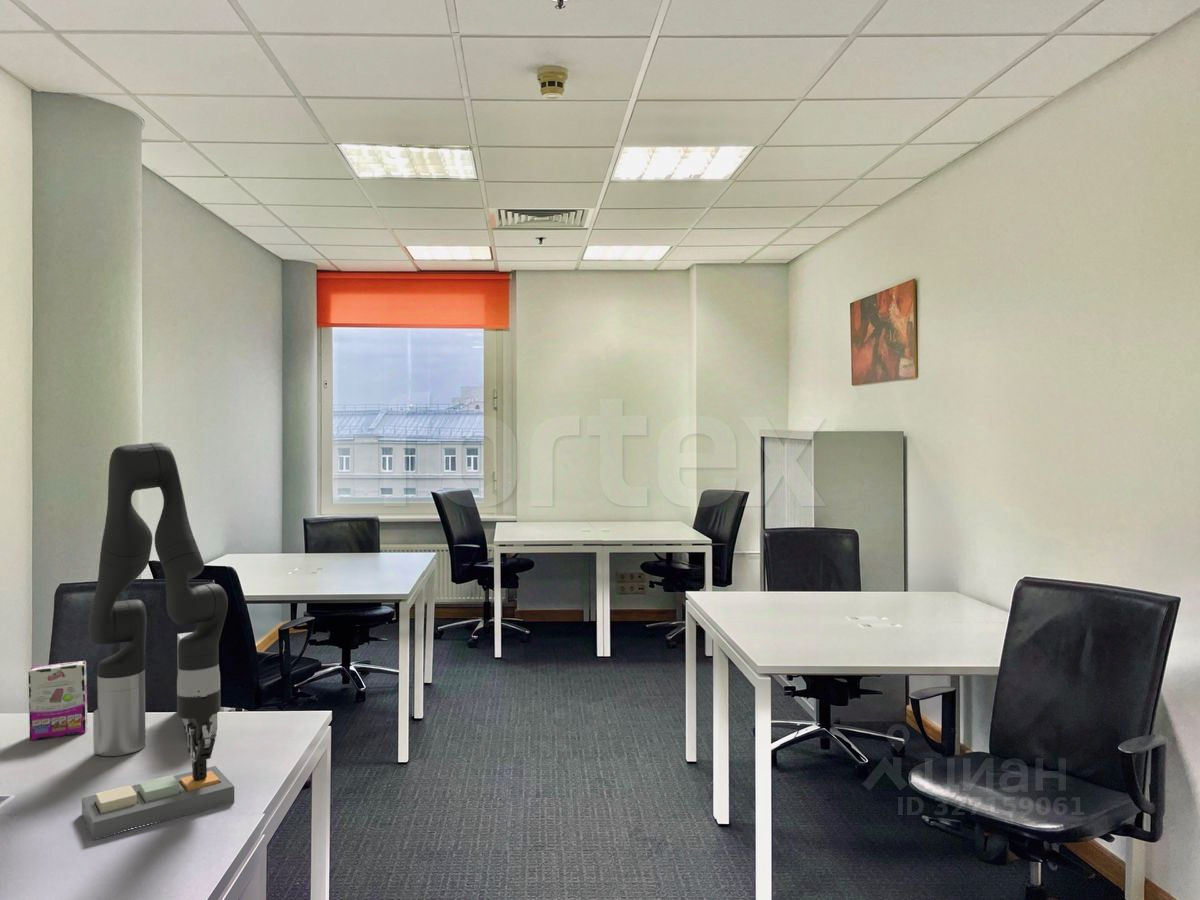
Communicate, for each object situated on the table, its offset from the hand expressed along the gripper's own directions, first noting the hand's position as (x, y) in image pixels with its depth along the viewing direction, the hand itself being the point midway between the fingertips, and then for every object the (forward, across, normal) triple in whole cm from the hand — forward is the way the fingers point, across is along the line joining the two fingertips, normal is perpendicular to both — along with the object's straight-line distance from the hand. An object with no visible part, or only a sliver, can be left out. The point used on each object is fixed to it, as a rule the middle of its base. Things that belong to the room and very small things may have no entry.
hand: (199, 778), depth 156 cm
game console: (+4, -46, +11) cm, 48 cm away
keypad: (+4, 0, -7) cm, 8 cm away
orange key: (+2, 0, 0) cm, 2 cm away
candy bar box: (+4, -60, -16) cm, 62 cm away
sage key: (+1, 0, -7) cm, 7 cm away
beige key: (+1, 0, -14) cm, 14 cm away
